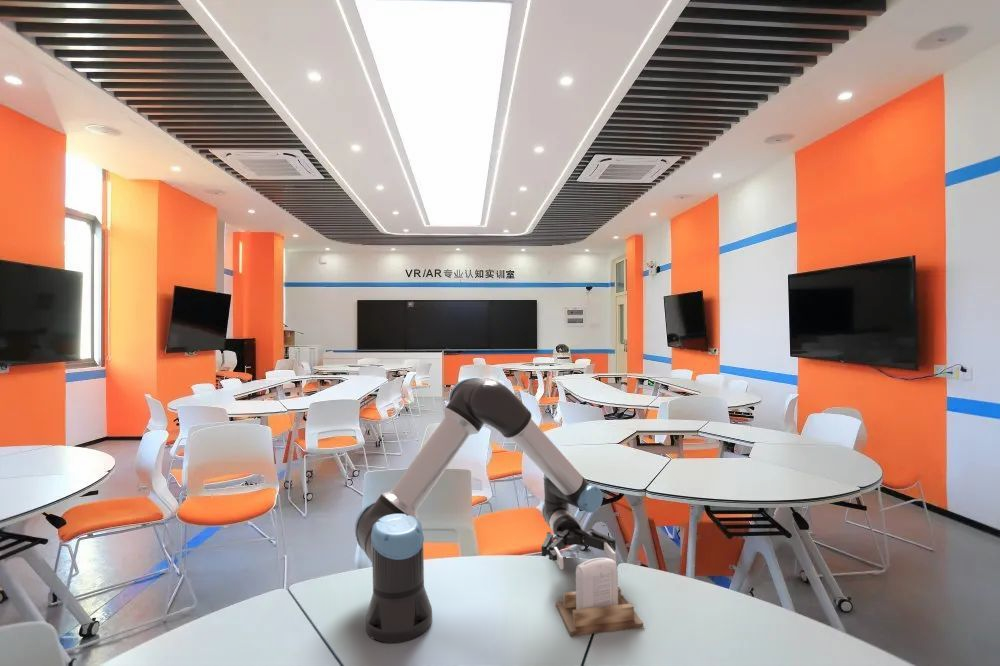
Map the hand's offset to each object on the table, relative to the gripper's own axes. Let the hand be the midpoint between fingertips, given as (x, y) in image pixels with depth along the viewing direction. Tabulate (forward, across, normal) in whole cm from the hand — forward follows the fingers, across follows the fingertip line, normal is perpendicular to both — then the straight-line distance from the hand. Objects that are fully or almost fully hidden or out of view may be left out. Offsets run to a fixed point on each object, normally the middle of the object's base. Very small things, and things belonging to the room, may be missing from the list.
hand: (588, 561), depth 121 cm
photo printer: (+7, 0, -9) cm, 11 cm away
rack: (+7, 0, -10) cm, 12 cm away
